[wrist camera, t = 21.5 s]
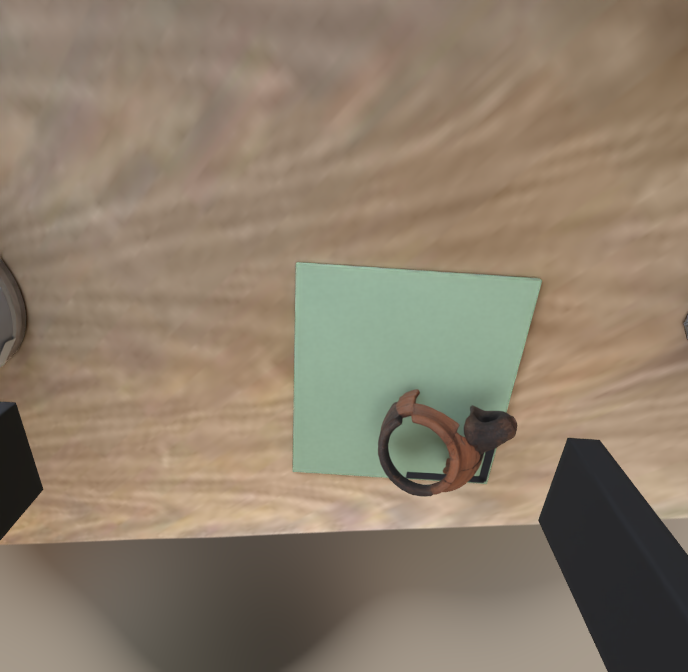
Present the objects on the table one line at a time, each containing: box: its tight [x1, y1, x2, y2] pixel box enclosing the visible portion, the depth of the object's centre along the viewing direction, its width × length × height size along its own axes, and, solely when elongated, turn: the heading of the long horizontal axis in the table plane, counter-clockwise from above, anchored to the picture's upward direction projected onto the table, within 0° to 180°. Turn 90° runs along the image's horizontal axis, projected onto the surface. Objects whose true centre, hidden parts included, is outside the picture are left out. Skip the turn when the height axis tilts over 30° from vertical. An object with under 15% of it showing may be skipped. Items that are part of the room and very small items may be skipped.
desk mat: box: [293, 262, 542, 484], centre depth 41 cm, size 20×22×1 cm
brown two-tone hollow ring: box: [378, 389, 517, 496], centre depth 40 cm, size 12×10×8 cm
